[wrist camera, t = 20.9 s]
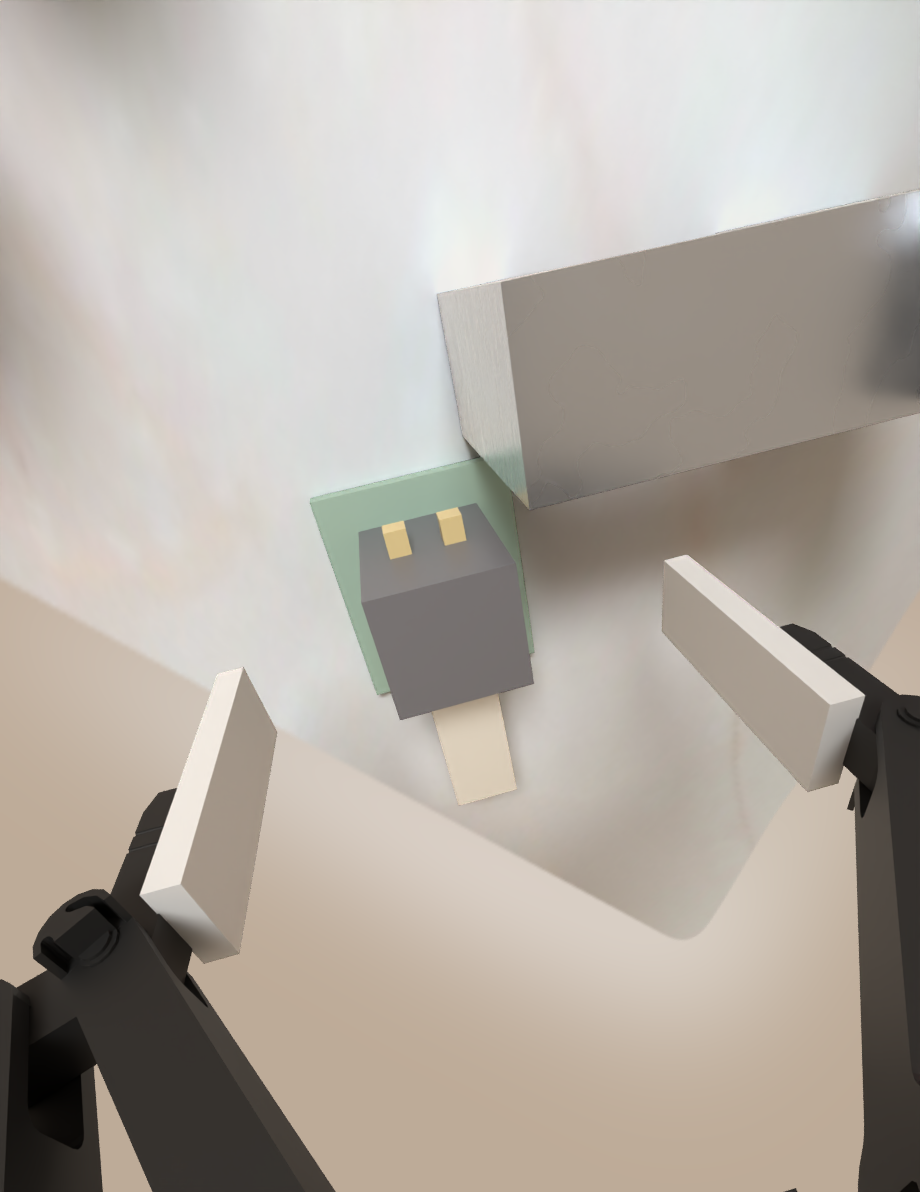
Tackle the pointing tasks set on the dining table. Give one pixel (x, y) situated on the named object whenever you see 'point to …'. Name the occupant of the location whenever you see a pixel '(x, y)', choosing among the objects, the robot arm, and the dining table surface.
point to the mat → (402, 502)
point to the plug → (449, 635)
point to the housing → (690, 350)
